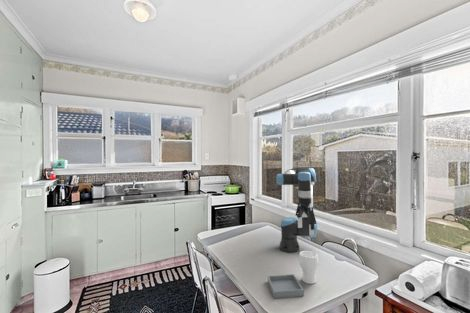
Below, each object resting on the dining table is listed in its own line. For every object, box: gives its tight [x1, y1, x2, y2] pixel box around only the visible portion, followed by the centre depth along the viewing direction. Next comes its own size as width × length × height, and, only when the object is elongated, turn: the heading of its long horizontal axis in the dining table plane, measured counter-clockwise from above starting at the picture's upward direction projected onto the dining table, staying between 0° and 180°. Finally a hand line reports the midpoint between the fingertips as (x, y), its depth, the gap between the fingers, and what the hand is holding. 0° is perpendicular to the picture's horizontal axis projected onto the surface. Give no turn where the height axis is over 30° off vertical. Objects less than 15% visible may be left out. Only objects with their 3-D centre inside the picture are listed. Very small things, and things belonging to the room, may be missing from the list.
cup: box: [298, 250, 319, 285], centre depth 130 cm, size 11×11×15 cm
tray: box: [267, 273, 305, 299], centre depth 122 cm, size 15×15×3 cm
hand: (305, 231), depth 141 cm, fingers open, 13 cm apart
